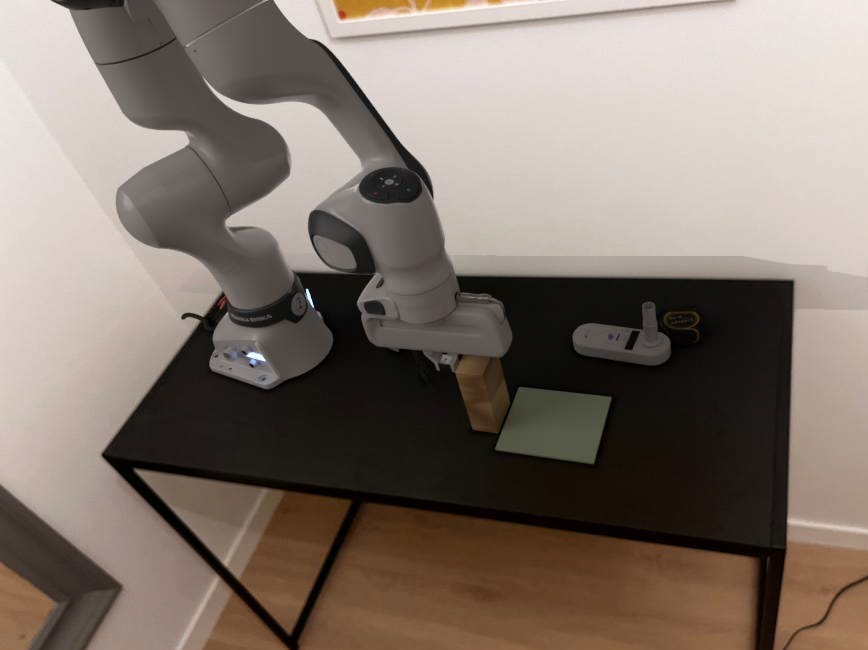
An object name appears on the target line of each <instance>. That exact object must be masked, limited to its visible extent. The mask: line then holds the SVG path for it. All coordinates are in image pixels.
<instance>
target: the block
mask: <svg viewBox="0 0 868 650" xmlns="http://www.w3.org/2000/svg"><path fill="white" fill-rule="evenodd" d="M500 358H501V357H488V356H477V355H466V354H462V357H461V359H460V360H459V362H460V363H459V365H458V367H457V369H456V372H454V373H455V376H456V380H457V383H458V386H459V391H460V393H461V396H462V399H463V402H464V406H465V409H466V413H467V416H468V418H469V422H470V425H471V428H472V429H471V430H472V431H478V432H486V433H492V434H499V433H500V430H501V428H502V425H503V423H504V420H505V418H506V415H507V413H508V410H509V408H510V405H511V399H510V396H509V392H508V387H507V383H506V378H505V375H504V371H503V367H502V363H501V359H500Z"/></svg>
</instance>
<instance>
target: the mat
mask: <svg viewBox="0 0 868 650" xmlns="http://www.w3.org/2000/svg"><path fill="white" fill-rule="evenodd" d="M612 400H613V399H612V396H608V395H607V396H605V395H597V394H588V393H578V392H571V391H570V392H569V391H562V390H551V389H544V388H543V389H542V388H533V387H523V386H518V388H517V391H516V394H515V396H514V399H513V402H512V404H511V407H510V409H509V412H508V414H507V417H506V420H505V422H504V425H503V427H502V429H501V432H500V435H499V438H498V440H497V442H496V446H495V448H494V450H495V451H499V452H505V453H512V454H519V455H525V456H526V455H527V456H533V457H538V458H539V457H540V458H547V459H554V460H560V461H567V462H575V463H581V464H587V465H595V464H596V463H595V462H596V459H597V455H598V452H599V449H600V448H599V447H600V445H601V440H602V436H603V432H604V429H605V426H606V425H605V424H606V422H607V417H608V414H609V411H610V410H609V409H610V406H611V402H612Z"/></svg>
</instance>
